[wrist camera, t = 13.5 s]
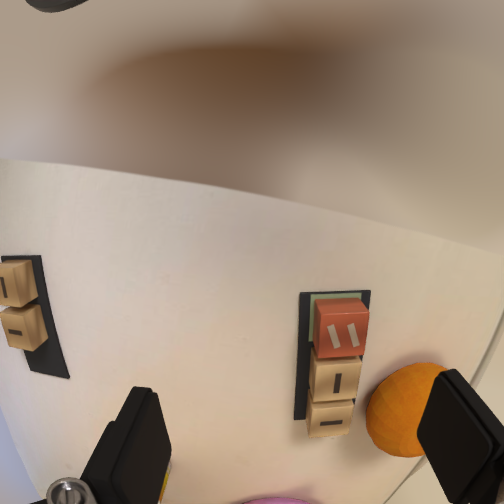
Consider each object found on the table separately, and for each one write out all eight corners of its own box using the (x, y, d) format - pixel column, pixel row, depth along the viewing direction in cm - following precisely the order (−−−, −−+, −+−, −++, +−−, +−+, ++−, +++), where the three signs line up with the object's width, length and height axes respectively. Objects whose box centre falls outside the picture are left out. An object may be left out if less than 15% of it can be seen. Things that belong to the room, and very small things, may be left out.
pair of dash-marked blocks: (311, 346, 31) (316, 366, 28) (352, 344, 31) (362, 363, 28) (305, 417, 33) (308, 438, 30) (342, 414, 33) (348, 434, 30)
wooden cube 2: (16, 302, 31) (-2, 313, 28) (40, 304, 31) (22, 316, 28) (24, 334, 32) (8, 346, 29) (48, 338, 32) (32, 351, 29)
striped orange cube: (314, 298, 30) (321, 314, 26) (358, 297, 30) (370, 312, 26) (312, 339, 31) (317, 358, 27) (354, 337, 31) (364, 355, 27)
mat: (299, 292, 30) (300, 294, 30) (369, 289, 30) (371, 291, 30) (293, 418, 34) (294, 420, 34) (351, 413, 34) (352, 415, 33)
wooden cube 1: (7, 259, 30) (-12, 267, 27) (31, 259, 30) (12, 268, 26) (14, 294, 31) (-4, 305, 28) (38, 296, 31) (20, 307, 27)
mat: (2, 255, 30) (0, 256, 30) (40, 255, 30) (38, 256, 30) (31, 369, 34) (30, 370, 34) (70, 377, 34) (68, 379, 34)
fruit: (425, 332, 31) (469, 380, 21) (455, 387, 33) (491, 433, 23) (341, 394, 33) (361, 456, 23) (383, 439, 35) (405, 492, 25)
